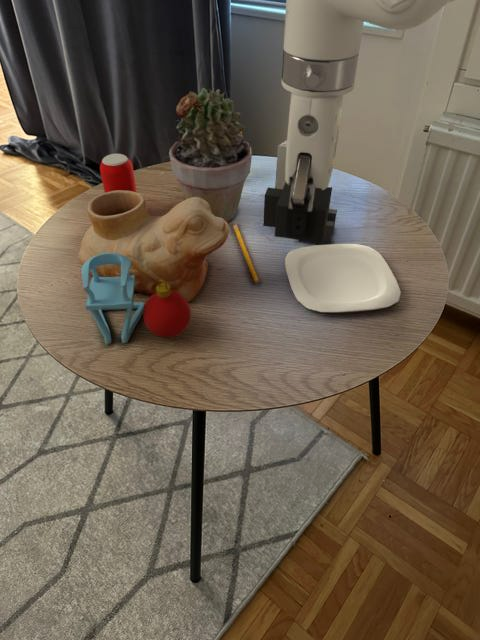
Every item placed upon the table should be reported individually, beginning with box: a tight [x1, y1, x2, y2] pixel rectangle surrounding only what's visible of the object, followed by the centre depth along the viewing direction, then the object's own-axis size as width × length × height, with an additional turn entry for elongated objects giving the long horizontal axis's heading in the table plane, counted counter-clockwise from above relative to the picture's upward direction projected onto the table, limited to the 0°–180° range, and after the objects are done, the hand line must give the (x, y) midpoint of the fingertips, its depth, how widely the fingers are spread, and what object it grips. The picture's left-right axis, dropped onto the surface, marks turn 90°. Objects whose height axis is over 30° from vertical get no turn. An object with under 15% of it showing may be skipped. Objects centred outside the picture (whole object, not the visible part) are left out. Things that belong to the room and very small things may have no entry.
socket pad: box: [298, 208, 338, 245], centre depth 92 cm, size 6×6×4 cm
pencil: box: [232, 222, 259, 284], centre depth 90 cm, size 1×18×1 cm, turn 13°
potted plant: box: [160, 87, 258, 223], centre depth 92 cm, size 18×20×25 cm
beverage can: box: [99, 153, 138, 193], centre depth 95 cm, size 6×6×12 cm
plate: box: [284, 243, 402, 314], centre depth 83 cm, size 18×18×2 cm
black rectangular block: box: [262, 182, 333, 243], centre depth 61 cm, size 8×6×4 cm
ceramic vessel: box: [78, 190, 230, 303], centre depth 80 cm, size 14×26×15 cm, turn 77°
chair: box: [80, 253, 146, 345], centre depth 72 cm, size 8×8×12 cm
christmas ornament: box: [142, 280, 192, 338], centre depth 72 cm, size 7×7×10 cm
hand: (302, 220), depth 62 cm, fingers closed on black rectangular block, 6 cm apart
